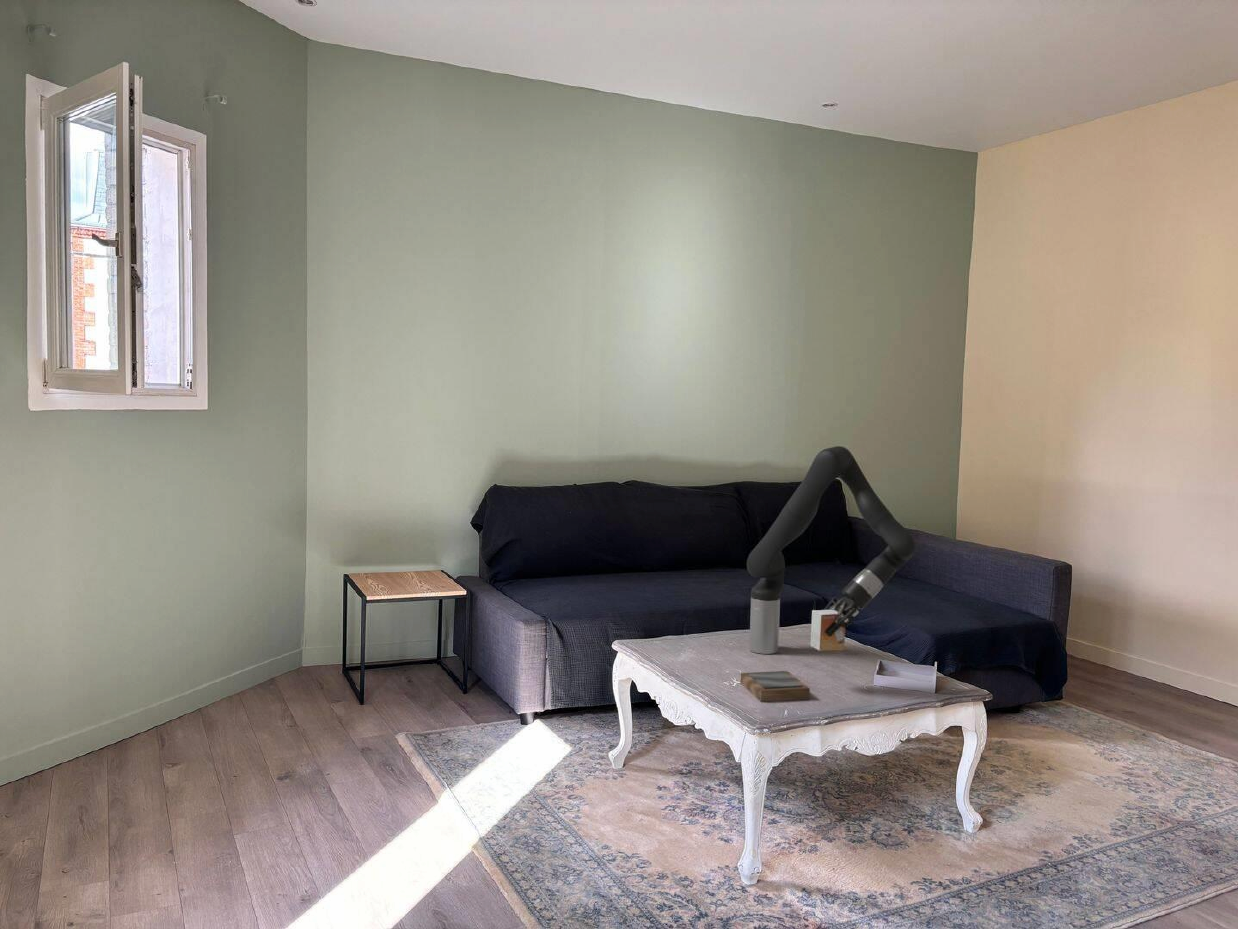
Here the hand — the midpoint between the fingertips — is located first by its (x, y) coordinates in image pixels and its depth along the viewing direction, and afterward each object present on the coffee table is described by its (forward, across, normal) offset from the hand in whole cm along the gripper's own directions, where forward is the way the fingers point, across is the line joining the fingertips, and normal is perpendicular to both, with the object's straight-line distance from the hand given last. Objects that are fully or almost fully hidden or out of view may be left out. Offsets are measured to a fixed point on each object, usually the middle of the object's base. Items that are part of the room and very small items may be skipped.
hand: (822, 631), depth 266 cm
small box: (+2, 0, +5) cm, 5 cm away
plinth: (+22, +1, +1) cm, 22 cm away
